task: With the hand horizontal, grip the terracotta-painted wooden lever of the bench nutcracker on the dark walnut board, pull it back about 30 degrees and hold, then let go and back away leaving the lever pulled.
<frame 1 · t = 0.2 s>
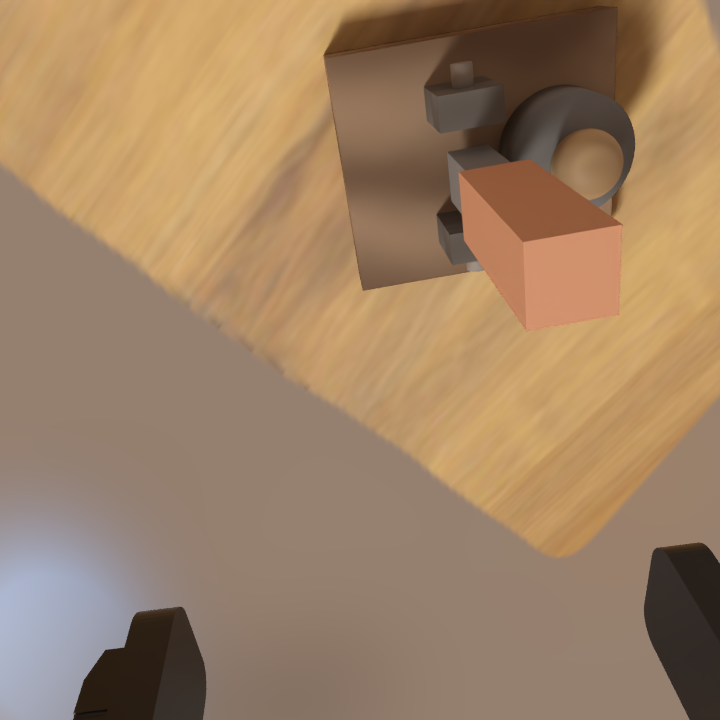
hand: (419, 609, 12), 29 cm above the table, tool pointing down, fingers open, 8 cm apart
lever: (509, 214, 27), point 11 cm above the table, hinge at 0.0°
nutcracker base: (470, 152, 37), on the table
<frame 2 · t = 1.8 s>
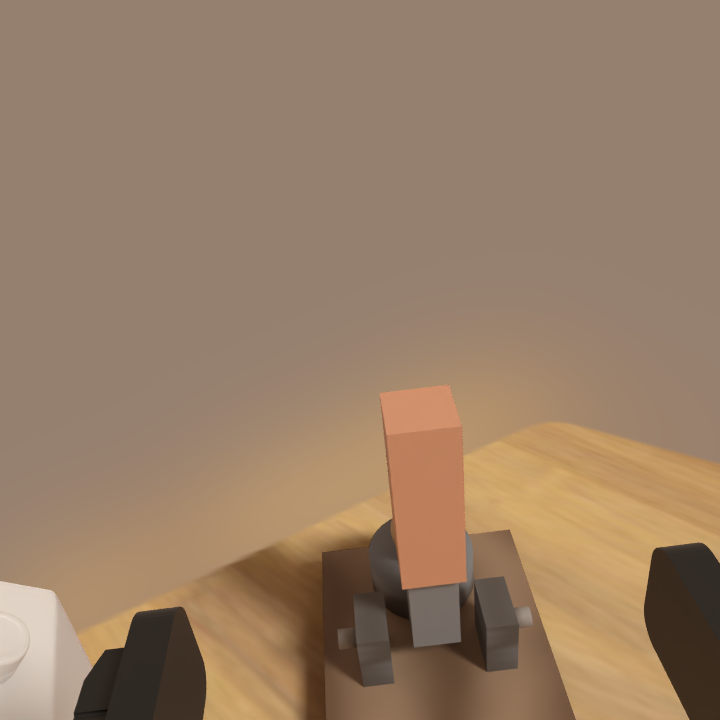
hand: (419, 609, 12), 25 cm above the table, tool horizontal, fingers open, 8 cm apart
lever: (427, 530, 32), point 11 cm above the table, hinge at 0.0°
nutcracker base: (434, 658, 38), on the table
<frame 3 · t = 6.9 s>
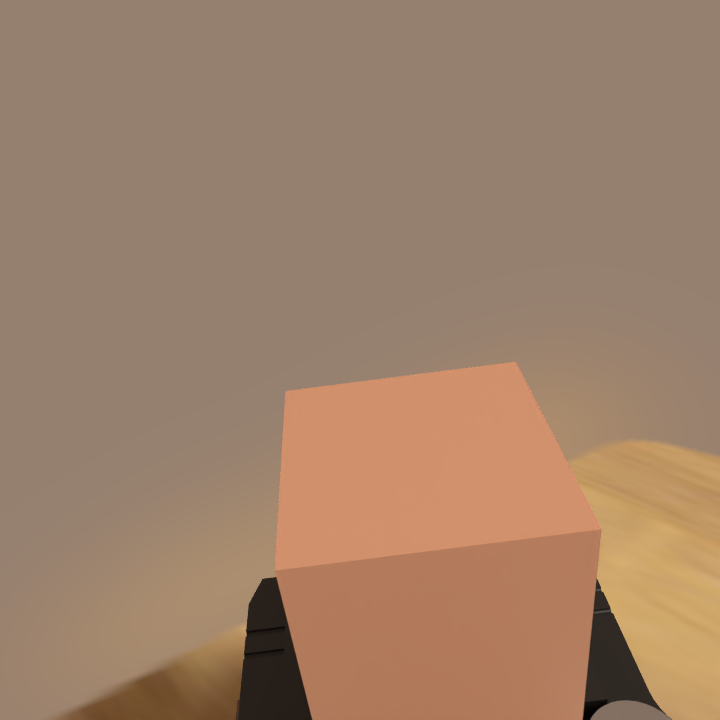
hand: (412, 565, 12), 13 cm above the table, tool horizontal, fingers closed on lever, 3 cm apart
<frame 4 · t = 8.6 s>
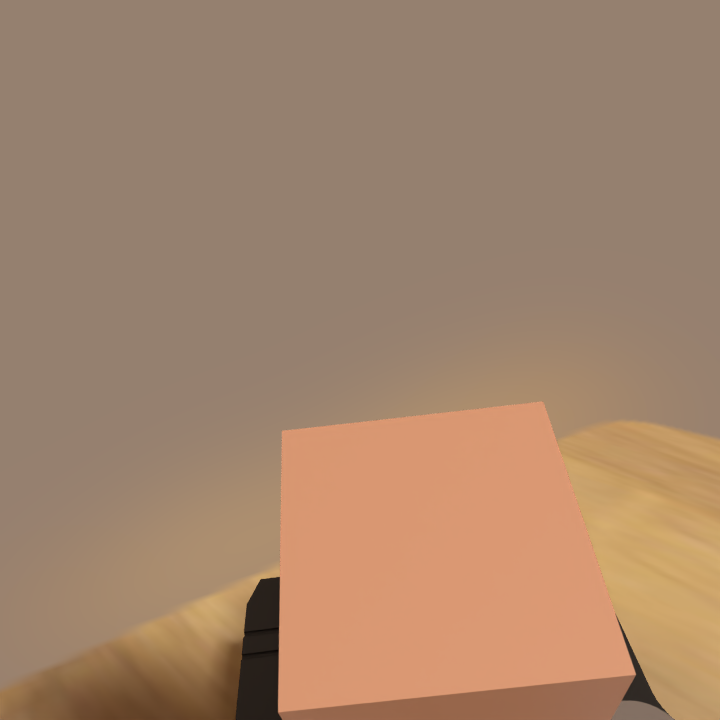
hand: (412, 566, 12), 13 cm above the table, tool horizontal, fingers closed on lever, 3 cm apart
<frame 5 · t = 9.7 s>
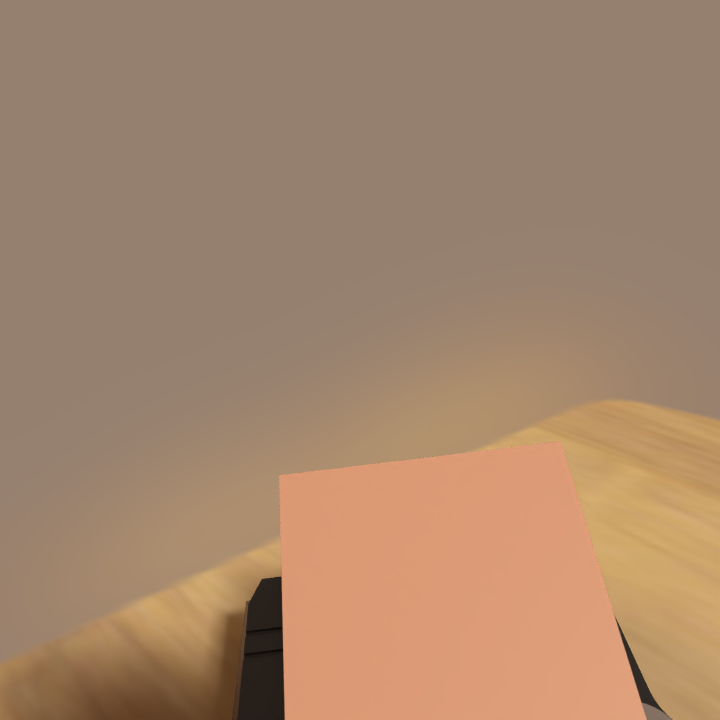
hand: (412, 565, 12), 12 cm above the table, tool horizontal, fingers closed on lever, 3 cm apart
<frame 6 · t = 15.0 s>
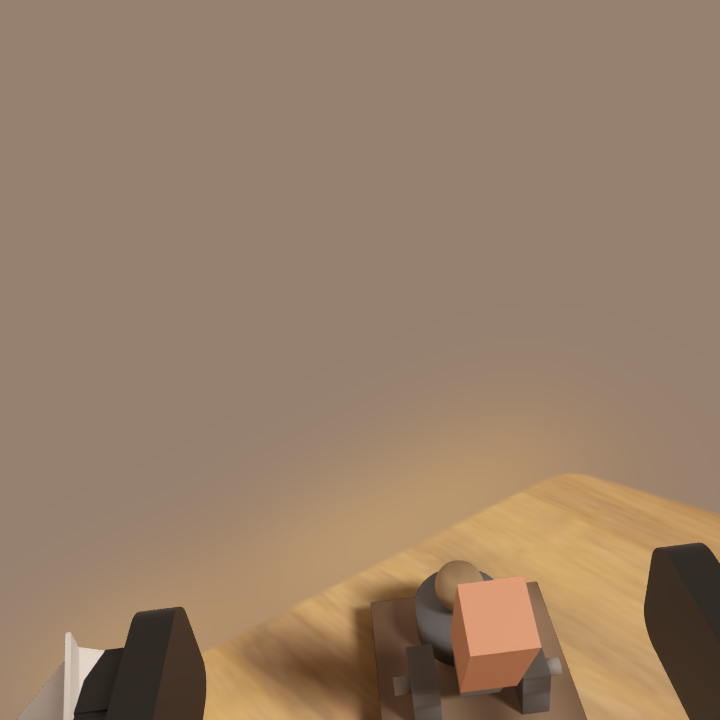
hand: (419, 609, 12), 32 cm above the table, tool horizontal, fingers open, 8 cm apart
lever: (485, 650, 35), point 10 cm above the table, hinge at 24.2°
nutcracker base: (474, 700, 44), on the table
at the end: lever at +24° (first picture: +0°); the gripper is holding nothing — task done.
